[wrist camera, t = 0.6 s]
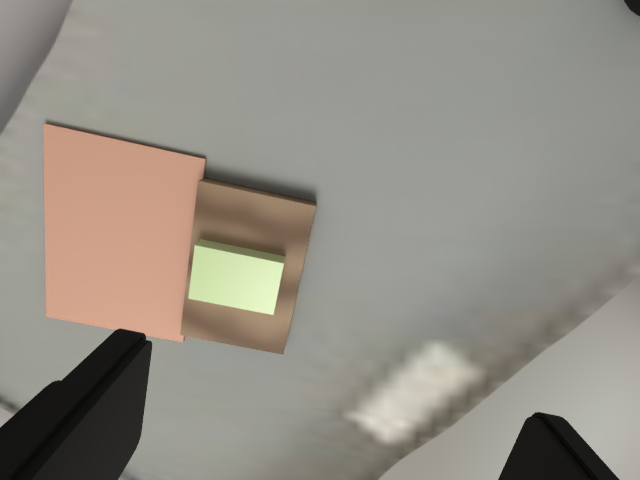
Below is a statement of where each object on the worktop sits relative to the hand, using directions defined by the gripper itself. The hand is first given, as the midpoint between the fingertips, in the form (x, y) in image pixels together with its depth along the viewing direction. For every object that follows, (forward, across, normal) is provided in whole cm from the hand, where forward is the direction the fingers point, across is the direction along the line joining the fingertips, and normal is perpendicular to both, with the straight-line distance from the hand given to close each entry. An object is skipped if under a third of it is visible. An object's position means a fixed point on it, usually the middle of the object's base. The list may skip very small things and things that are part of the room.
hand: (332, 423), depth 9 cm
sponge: (+28, +7, +9) cm, 30 cm away
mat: (+31, +20, +9) cm, 38 cm away
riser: (+31, +6, +9) cm, 33 cm away
